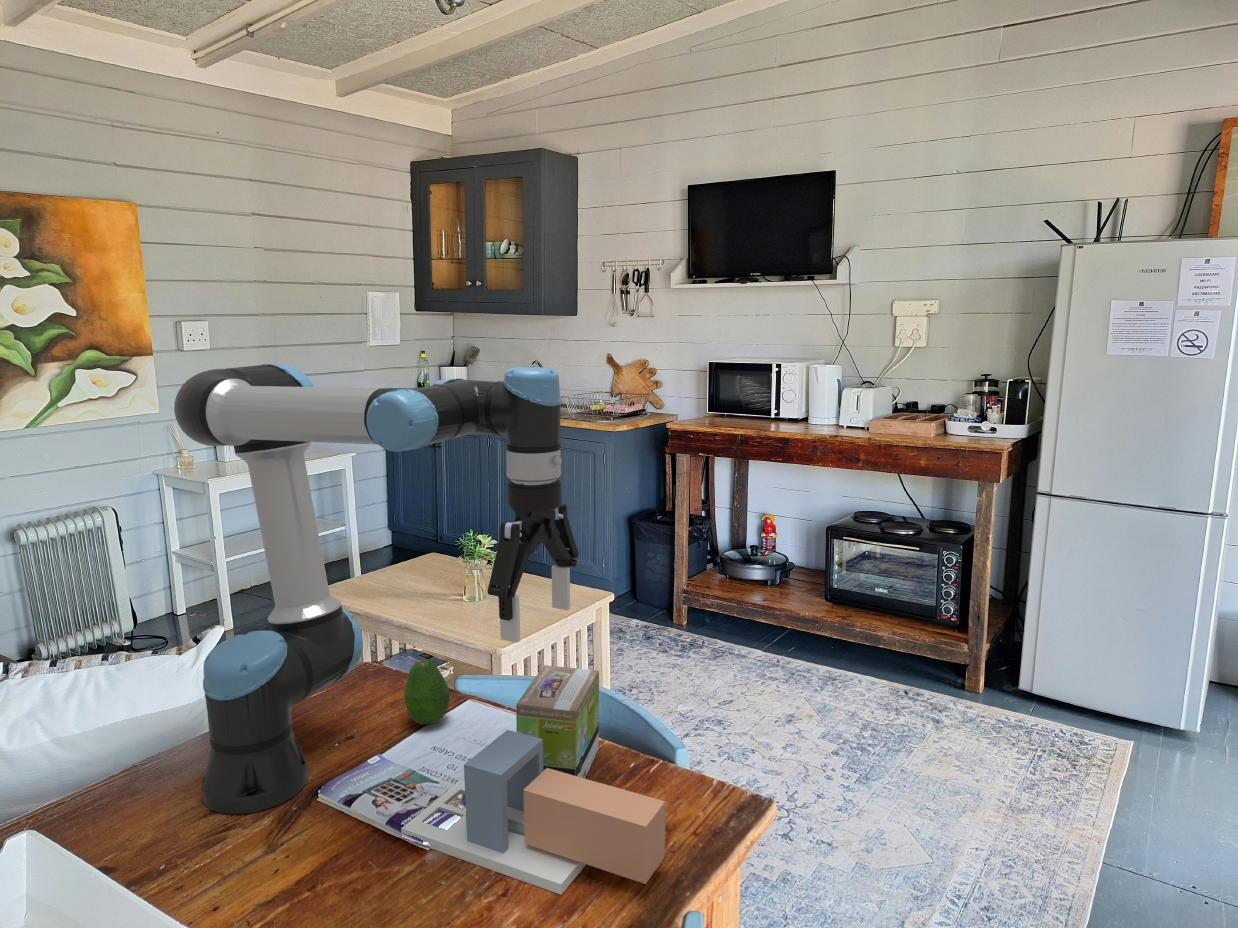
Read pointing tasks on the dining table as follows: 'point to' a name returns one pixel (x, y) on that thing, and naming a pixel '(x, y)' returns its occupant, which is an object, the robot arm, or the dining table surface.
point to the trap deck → (497, 816)
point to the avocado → (426, 693)
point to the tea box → (563, 717)
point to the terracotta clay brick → (595, 824)
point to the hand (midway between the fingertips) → (537, 623)
